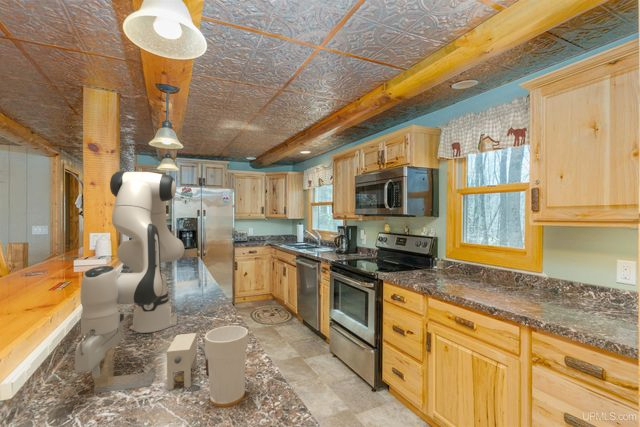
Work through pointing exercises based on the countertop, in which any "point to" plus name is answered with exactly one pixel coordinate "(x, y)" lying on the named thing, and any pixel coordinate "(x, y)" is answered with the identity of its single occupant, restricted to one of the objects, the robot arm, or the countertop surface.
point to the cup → (226, 364)
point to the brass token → (180, 377)
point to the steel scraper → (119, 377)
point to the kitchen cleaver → (202, 347)
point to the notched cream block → (182, 358)
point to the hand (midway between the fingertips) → (101, 371)
